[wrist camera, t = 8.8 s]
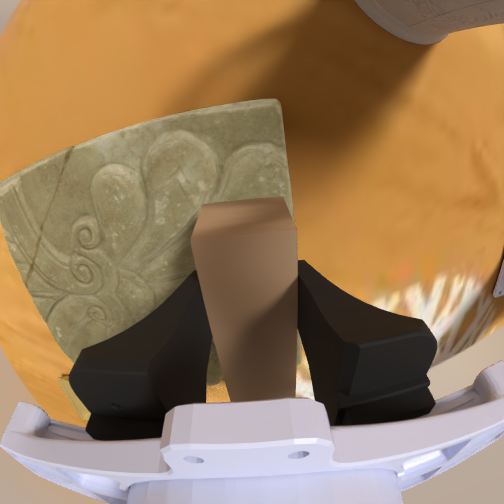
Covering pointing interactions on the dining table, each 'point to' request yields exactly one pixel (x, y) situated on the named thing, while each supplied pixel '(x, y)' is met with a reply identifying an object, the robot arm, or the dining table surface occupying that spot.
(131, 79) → the dining table surface
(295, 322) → the walnut stick
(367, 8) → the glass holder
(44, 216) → the decorative tile
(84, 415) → the saucer
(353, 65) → the dining table surface
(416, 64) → the dining table surface
